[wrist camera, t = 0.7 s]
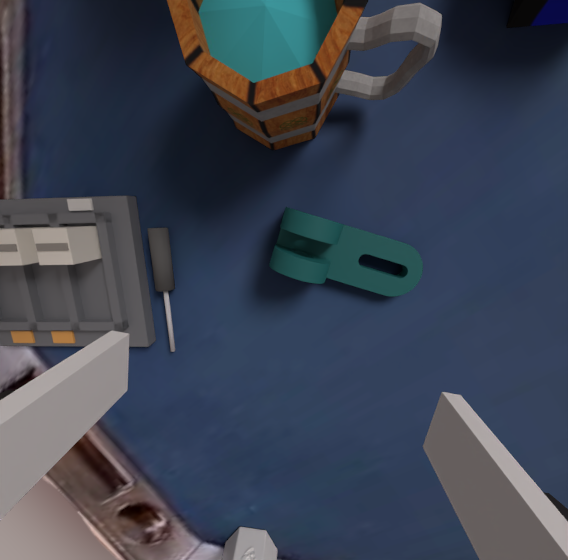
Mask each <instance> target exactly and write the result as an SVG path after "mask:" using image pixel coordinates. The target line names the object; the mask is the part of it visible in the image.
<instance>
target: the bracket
mask: <svg viewBox="0 0 568 560" xmlns="http://www.w3.org/2000/svg"><path fill="white" fill-rule="evenodd" d="M280 227H281V229H280V233H279V236H278V240H277V243H276V245H275V246H274V250H273V253H272V257H271V260H270V264H269V266H270V267H271V268H272V269H273V270H275V271H277V272H279V273H281V274H283V275H285V276H288V277H291V278H294V279H297V280H300V281H304V282H309V283H316V284H322V283H324V282H325V280H326V278H329V279H332V280H335V281H339V282H342V283H345V284H348V285H352V286H355V287H358V288H362V289H365V290H368V291H372V292H375V293H378V294H381V295H385V296H400V295H403V294H405V293H407V292H409V291H410V290H412V289H413V288H414V287H415V286H416V285H417V283H418V282H419V280H420V278H421V275H422V271H423V263H422V259H421V257H420V255H419V253H418V252H417V251H416V250H415V249H414V248H413V247H412V246H410V245H408V244H406V243H403V242H399V241H396V240H393V239H389V238H386V237H383V236H380V235H376V234H373V233H370V232H366V231H363V230H360V229H357V228H353V227H350V226H347V225H343V224H340V223H337V222H334V221H330V220H327V219H324V218H320V217H317V216H314V215H311V214H307V213H304V212H301V211H297V210H294V209H291V208H288V207H286V208H285V211H284V215H283V218H282V222H281V225H280ZM363 254H368V255H372V256H375V257H378V258H382V259H385V260H388V261H392V262H395V263H398V264H401V265H402V271H401V272H400V273H399V274H397V275H393V274H390V273H386V272H383V271H380V270H376V269H373V268H370V267H367V266H363V265H360V264H359V262H358V260H359V258H360V256H361V255H363Z"/></svg>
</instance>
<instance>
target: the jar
mask: <svg viewBox="0 0 568 560" xmlns="http://www.w3.org/2000/svg"><path fill="white" fill-rule="evenodd" d="M222 560H277V548H276V546H275V545H274V543H273V541H272V540H271V538H270V536H269V534H268V533H267V531H266V530H261V529H254V528H247V527H239V528H238V529H237V530H236V532H235V533H234V534H233V535H232V536H231V537H230V538H229V539H228V540H227V541H226V543H225V547H224V552H223V556H222Z"/></svg>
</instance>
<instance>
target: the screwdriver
mask: <svg viewBox="0 0 568 560" xmlns="http://www.w3.org/2000/svg"><path fill="white" fill-rule="evenodd" d="M148 237H149V244H150V252H151V259H152V267H153V274H154V282H155V289H156V291H163V293H164V301H165V309H166V317H167V325H168V333H169V340H170V348H171V352H174V351H175V343H174V335H173V327H172V318H171V310H170V302H169V294H168V291H170V290H173V289H175V284H174V275H173V267H172V258H171V249H170V241H169V232H168V228H148Z"/></svg>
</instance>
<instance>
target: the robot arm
mask: <svg viewBox="0 0 568 560" xmlns="http://www.w3.org/2000/svg"><path fill="white" fill-rule="evenodd" d="M128 359H129V334H128V333H123V332H118V331H110V332H108V333H107V334H105V335H104V336H102V337H100V338H99V339H97V340H96V341H94V342H92V343H91V344H89V345H88V346H86V347H84V348H83V349H81V350H80V351H78V352H76V353H75V354H73V355H72V356H70V357H68V358H67V359H65V360H64V361H62V362H60V363H59V364H57V365H56V366H54V367H52V368H51V369H49V370H48V371H46V372H44V373H43V374H41V375H40V376H38V377H36V378H35V379H33V380H32V381H30V382H29V383H27V384H25V385H24V386H22V387H21V388H19V389H17V390H16V391H10V390H8V391H5V392H2V393H0V520H1V519H2V518H3V517H4V516H5V515H6V514H7V513H8V512H9V511H10V510H11V509H12V508H13V507H14V506H15V505H16V504H17V502H19V501H20V500H21V498H22V497H24V496H25V495H26V494H27V492H28V491H29V490H30V489H31V488H32V487H33V486H34V485H35V484H36V483H37V482H38V481H39V480H40V479H41V478H42V477H43V476H44V475H45V474H46V473H47V472H48V471H49V470H50V469H51V468H52V467H53V466H54V465H55V464H56V463H57V462H58V461H59V460H60V459H61V458H62V457H63V456H64V455H65V454H66V453H67V452H68V451H69V450H70V449H71V447H72V446H73V445H74V444H75V443H76V442H77V441H78V440H79V439H80V438H81V437H82V436H83V435H84V434H85V433H86V432H87V431H88V430H89V429H90V428H91V427H92V426H93V425H94V424H95V423H96V422H97V421H98V420H99V419H100V418H101V417H102V416H103V415H104V414H105V413H106V412H107V411H108V410H109V409H110V408H111V407H112V406H113V405H114V404H115V402H116V401H117V400H118V399H119V398H120V397H121V396H122V395H123V394H124V393H125V392H126V391H127V387H128ZM423 448H424V450H425V452H426V454H427V456H428V458H429V460H430V462H431V464H432V466H433V468H434V470H435V472H436V474H437V476H438V478H439V480H440V482H441V484H442V486H443V488H444V490H445V492H446V494H447V496H448V498H449V500H450V502H451V504H452V506H453V508H454V510H455V512H456V514H457V516H458V518H459V520H460V522H461V524H462V526H463V528H464V530H465V532H466V534H467V536H468V538H469V540H470V542H471V544H472V546H473V548H474V550H475V552H476V554H477V555H478V557H479V559H480V560H568V509H567V508H566V507H565V506H563V505H562V504H561V503H560V502H559V501H557V500H556V499H555V498H554V497H553V496H551V495H550V494H549V493H544V492H542V491H541V489H540V488H539V487H538V486H537V485H536V483H535V482H534V481H533V480H532V479H531V478H530V476H529V475H528V474H527V473H526V472H525V471H524V469H523V468H522V467H521V466H520V465H519V463H518V462H517V461H516V460H515V459H514V458H513V456H512V455H511V454H510V453H509V452H508V450H507V449H506V448H505V447H504V446H503V445H502V443H501V442H500V441H499V440H498V439H497V438H496V436H495V435H494V434H493V433H492V432H491V430H490V429H489V428H488V427H487V426H486V425H485V423H484V422H483V421H482V420H481V419H480V418H479V416H478V415H477V414H476V413H475V412H474V410H473V409H472V408H471V407H470V406H469V405H468V403H467V402H466V401H465V400H464V399H463V397H462V396H461V395H456V394H451V393H445V392H442V393H441V396H440V399H439V402H438V405H437V407H436V410H435V413H434V416H433V419H432V422H431V425H430V427H429V430H428V433H427V436H426V439H425V442H424V445H423Z"/></svg>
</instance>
